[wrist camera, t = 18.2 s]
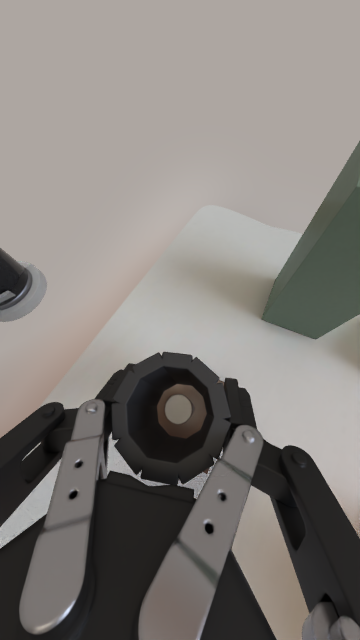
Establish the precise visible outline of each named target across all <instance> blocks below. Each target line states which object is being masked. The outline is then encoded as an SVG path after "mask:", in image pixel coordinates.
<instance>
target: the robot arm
mask: <svg viewBox="0 0 360 640" xmlns="http://www.w3.org/2000/svg"><path fill="white" fill-rule="evenodd" d="M32 281H33V279H32V274H31V272H30V271H29V270H28V269H26V268H25V267H24V266H23V265H21V264H19V263H18V262H17V261H16V260H14V259H13V258H12V257H11V256H10V255H8V254H7V253H6V252H5V251H4V250H2V249H1V248H0V310H4V309H7V308H10V307H12V306H14V305H16V304H17V303H19V302H20V301H21V300H22V299H23V298H24V297H25V296H26V295H27V294H28V292H29V290H30V288H31V286H32ZM134 365H136V364H130V363H129V364H128V365H127V366H126V368H125V369H124V370H119V371H117V372H116V373H114V374H113V376H112V377H111V378H110V380H109V381H108V382H107V384H106V385H105V386H104V387H103V388H102V390H101V391H100V392H99V394H98V395H97V396H96V398H95V399H92V400H89V401H86V402H85V403H83V404H82V405H81V406H80V407H79V408H76V409H65V410H64V407H63V405H62V404H61V403H58V402H52V403H48V404H46V405H43V406H42V407H40V408H39V409H38V410H36V411H35V412H34V413H32V414H31V415H30V416H29V417H28V418H26V419H25V420H23V421H22V422H21V423H19V424H18V425H17V426H16V427H14V428H13V429H12V430H10V431H9V432H8V433H7V434H6V435H4V436H3V437H1V438H0V527H1V526H2V524H3V523H4V522H5V521H6V520H7V519H8V518H9V517H10V515H11V514H12V513H13V512H14V511H15V510H16V509H17V508H18V506H19V505H20V504H21V503H22V502H23V501H24V500H25V499H26V497H27V496H28V495H29V494H30V493H31V492H32V491H33V489H34V488H35V487H36V486H37V485H38V484H39V483H40V482H41V480H42V479H43V478H44V477H45V476H46V475H47V474H48V473H49V471H50V470H51V469H52V468H53V467H54V466H55V465H56V464H57V462H58V461H59V460H60V459H61V458H62V459H61V463H60V467H59V471H58V475H57V478H56V482H55V486H54V490H53V494H52V497H51V501H50V505H49V509H48V512H47V514H46V515H44V516H43V517H42V518H40V519H39V520H38V521H36V522H35V523H34V524H32V525H31V526H30V527H28V528H27V529H26V530H25V531H23V532H22V533H21V534H19V535H18V536H17V537H15V538H14V539H13V540H11V541H10V542H9V543H7V544H6V545H5V546H3V547H2V548H1V549H0V640H277V639H276V637H275V635H274V634H273V632H272V630H271V628H270V626H269V624H268V622H267V620H266V618H265V616H264V614H263V612H262V610H261V608H260V606H259V604H258V602H257V600H256V598H255V596H254V594H253V592H252V590H251V588H250V586H249V584H248V582H247V580H246V578H245V576H244V574H243V572H242V570H241V568H240V566H239V564H238V562H237V560H236V558H235V556H234V554H233V552H232V550H231V548H232V545H233V541H234V538H235V535H236V532H237V529H238V525H239V522H240V519H241V515H242V512H243V509H244V506H245V503H246V500H247V497H248V493H249V490H250V487H251V485H252V486H254V487H255V488H257V489H259V490H261V491H262V492H264V493H266V494H268V495H269V496H270V498H271V501H272V504H273V507H274V510H275V513H276V516H277V519H278V522H279V525H280V528H281V531H282V534H283V537H284V540H285V542H286V545H287V548H288V551H289V554H290V557H291V560H292V563H293V566H294V569H295V572H296V575H297V578H298V581H299V584H300V587H301V590H302V592H303V595H304V598H305V601H306V604H307V607H308V610H309V613H310V614H309V615H308V617H307V618H306V619H305V621H304V623H303V627H302V640H360V538H359V537H358V535H357V533H356V531H355V530H354V528H353V526H352V525H351V523H350V521H349V520H348V518H347V516H346V515H345V513H344V511H343V510H342V508H341V506H340V504H339V503H338V501H337V499H336V498H335V496H334V494H333V493H332V491H331V489H330V488H329V486H328V484H327V483H326V481H325V479H324V477H323V476H322V474H321V472H320V471H319V469H318V467H317V466H316V464H315V462H314V461H313V459H312V458H311V457H310V455H309V454H308V453H306V452H305V451H304V450H302V449H300V448H298V447H296V446H291V445H290V446H285V447H284V448H283V449H280V448H278V447H276V446H273V445H271V444H270V443H268V442H266V441H265V440H264V439H263V437H262V435H261V434H260V432H259V431H258V430H257V427H256V422H255V418H254V413H253V408H252V404H251V399H250V395H249V393H248V392H247V391H246V389H245V388H239V387H238V381H237V379H232V378H225V383H224V390H225V394H226V398H227V402H228V406H229V410H230V414H231V417H230V418H226V419H225V420H227V421H229V422H230V423H231V425H230V428H229V430H228V433H227V436H226V439H225V442H224V445H223V455H222V457H221V459H220V458H219V459H218V460H217V461H216V463H215V465H214V467H213V469H212V471H211V473H210V475H209V477H208V479H207V481H206V483H205V485H204V487H203V489H202V490H201V492H200V494H199V496H198V498H197V499H195V498H194V489H190V488H185V487H181V486H176V485H162V486H147V485H146V484H144V483H142V482H140V481H139V480H137V479H135V478H134V477H132V476H130V475H127V474H122V473H118V472H114V471H109V474H108V476H107V465H108V448H109V435H110V434H111V432H112V411H111V405H112V404H113V403H118V402H116V401H114V400H113V397H114V395H115V393H116V391H117V390H118V388H119V386H120V384H121V383H122V381H123V379H124V377H125V376H126V374H127V372H128V370H130V371H132V372H134V371H133V368H132V366H134ZM40 442H41V444H40V445H39V446H38V447H37V448H35V449H34V450H33V451H32V452H31V453H30V454H29V455H28V456H27V457H26V458H25V459H24V457H25V456H26V455H27V454H28V453H29V452H30V451H31V450H32V449H33V448H34V447H35V446H37V445H38V444H39V443H40ZM23 459H24V460H23ZM22 460H23V461H22Z"/></svg>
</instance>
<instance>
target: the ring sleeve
mask: <svg viewBox="0 0 360 640" xmlns="http://www.w3.org/2000/svg"><path fill="white" fill-rule="evenodd" d="M132 368H133V371H134V372H132V371H130V370H128V372H127V374H126V376H125V377H124V379H123V381H122V383H121V384H120V386H119V388H118V390H117V391H116V393H115V395H114V397H113V400H114V401H116V402H118V403H113V404H112V405H111V411H112V439H113V440H118V439H119V440H118V441H117V443H116V444H115V445H114V446H115V448H116V449H117V450H118V452H119V453H120V454H121V456H122V457H123V458H124V460H125V461H126V462H127V464H128V465H129V466H130V468H131V469H132V470H133V472H134V473H135V474H136V475H137V474H138V473H139V472H140V471H141V470H142V472H141V479H145V480H150V481H155V482H160V483H165V484H170V485H176V486H177V484H178V481H179V479H180V481H181V483H182V484H185V483H186V482H188V481H189V480H191V479H192V478H194V477H195V476H197V475H199V474H200V473H202V472H203V471H205V470H206V469H208V468H210V467H211V466H213V465H214V460H213V457H214V458H216V459H219V456H220V453H221V450H222V448H223V445H224V442H225V439H226V436H227V433H228V430H229V428H230V425H231V423H230V422H229V421H227V420H225V419H226V418H230V417H231V414H230V410H229V406H228V402H227V398H226V394H225V390H224V386H223V383H222V382H220V383H217V382H218V380H219V377H218V376H217V375H216V374H215V373H214V372H213V371H211V370H210V369H209V368H208V367H207V366H206V365H205V364H204V363H203V362H202V361H200V360H199V359H198V358H197V357H195V358H194V359H192V355H187V354H179V353H170V352H163V354H162V356H161V355H160V353H156V354H155V355H153V356H151V357H149V358H147V359H145V360H143V361H142V362H140V363H138V364H136V365H134V366H132ZM176 384H182V385H189V386H193V387H194V388H195V389H196V390H197V391H198V392H199V393H200V394H201V395H202V396H203V398H204V403H205V408H206V413H207V414H206V417H205V419H204V422H203V424H202V427H201V429H200V430H199V431H198V432H196V433H194V434H193V435H191V436H189V437H188V438H181V437H175V436H170V435H169V434H168V433H167V432H166V431H165V429H164V428H163V427H162V426H161V425H160V424H159V420H158V412H157V405H158V403H159V401H160V399H161V396H162V394H163V392H164V391H165V390H167V389H169V388H171V387H173V386H174V385H176Z"/></svg>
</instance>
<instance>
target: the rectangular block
mask: <svg viewBox="0 0 360 640" xmlns="http://www.w3.org/2000/svg"><path fill="white" fill-rule="evenodd" d="M359 314H360V141H359V143H358V145H357V146H356V148H355V150H354V151H353V153H352V154H351V156H350V158H349V160H348V161H347V163H346V164H345V166H344V168H343V169H342V171H341V173H340V174H339V176H338V178H337V179H336V181H335V183H334V184H333V186H332V188H331V189H330V191H329V192H328V194H327V196H326V197H325V199H324V201H323V202H322V204H321V206H320V207H319V209H318V211H317V212H316V214H315V216H314V217H313V219H312V220H311V222H310V224H309V226H308V227H307V229H306V230H305V232H304V234H303V235H302V237H301V239H300V240H299V242H298V244H297V245H296V247H295V249H294V250H293V252H292V253H291V255H290V257H289V258H288V260H287V262H286V263H285V265H284V267H283V268H282V270H281V272H280V273H279V275H278V277H277V278H276V280H275V283H274V286H273V288H272V291H271V294H270V297H269V299H268V302H267V305H266V308H265V311H264V313H263V316H262V320H265V321H268V322H270V323H273V324H276V325H278V326H281V327H284V328H286V329H289V330H292V331H294V332H297V333H300V334H303V335H305V336H308V337H311V338H313V339H317V338H319V337H321V336H323V335H324V334H326V333H328V332H329V331H331V330H333V329H335V328H336V327H338V326H340V325H341V324H343V323H345V322H347V321H348V320H350V319H352V318H354V317H355V316H357V315H359Z"/></svg>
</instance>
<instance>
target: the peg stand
mask: <svg viewBox="0 0 360 640" xmlns="http://www.w3.org/2000/svg"><path fill="white" fill-rule="evenodd" d="M220 382H222V381H220V380H218V382H217V383H220ZM222 383H223V386H224V383H225V382H222ZM157 412H158V420H159V424H160V425H161V426H162V427H163V428H164V429H165V431H166V432H167V433H168V434H169V435H170V436H175V437H181V438H188V437H189V436H191V435H193V434H194V433H196V432H198V431H199V430H200V429H201V427H202V424H203V422H204V419H205V417H206V414H207V413H206V408H205V403H204V398H203V396H202V395H201V394H200V393H199V392H198V391H197V390H196V389H195V388H194V387H193V386H189V385H182V384H176V385H174V386H173V387H171V388H169V389H167V390H165V391H164V392H163V394H162V396H161V399H160V401H159V403H158V405H157ZM208 470H209V468H208V469H206V470H205V471H203V472H204V473H206V474H207V473H208Z"/></svg>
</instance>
